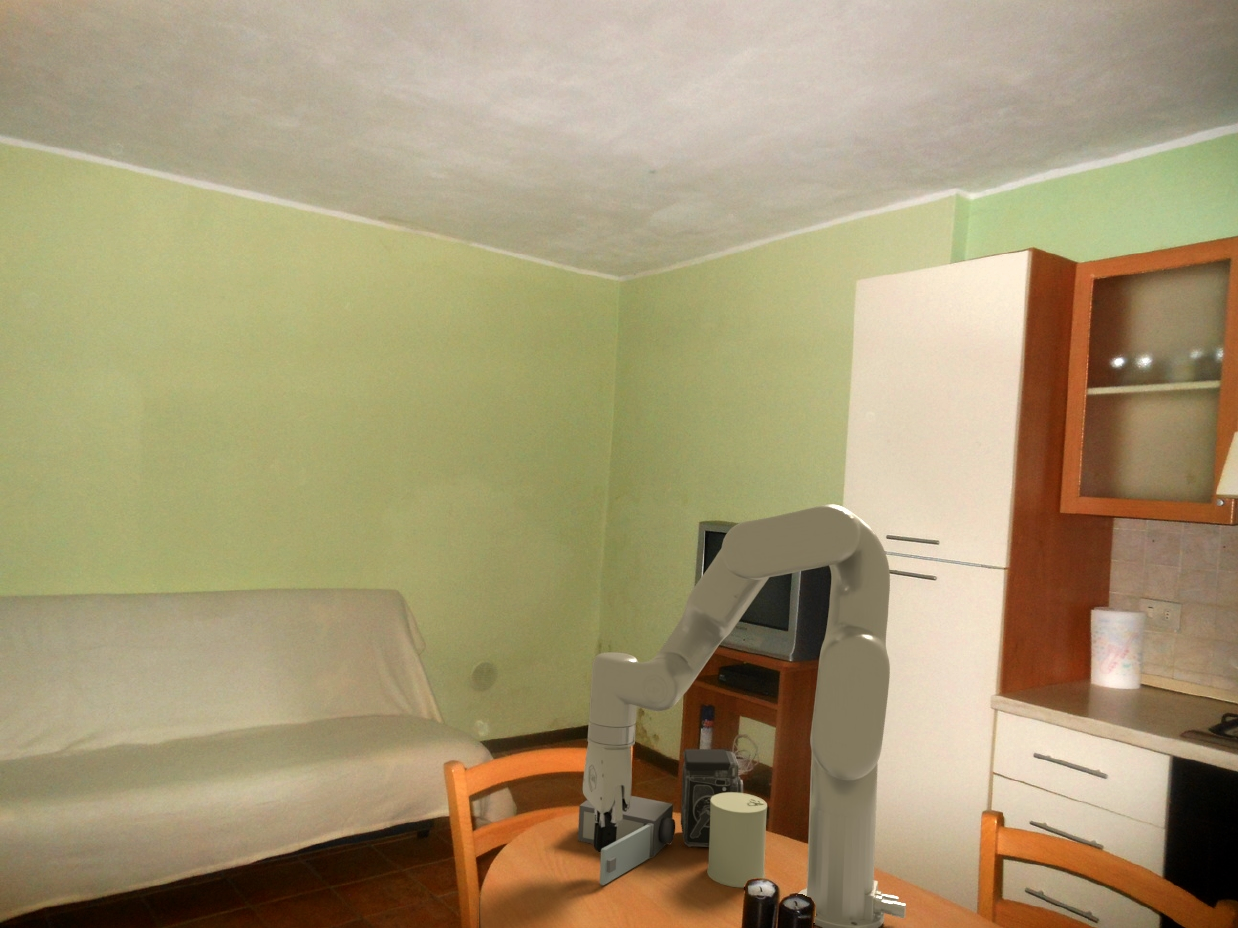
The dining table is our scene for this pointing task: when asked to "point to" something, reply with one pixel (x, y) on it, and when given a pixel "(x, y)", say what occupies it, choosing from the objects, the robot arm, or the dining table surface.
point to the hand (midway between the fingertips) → (604, 848)
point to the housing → (633, 821)
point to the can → (736, 838)
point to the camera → (705, 789)
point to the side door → (626, 853)
